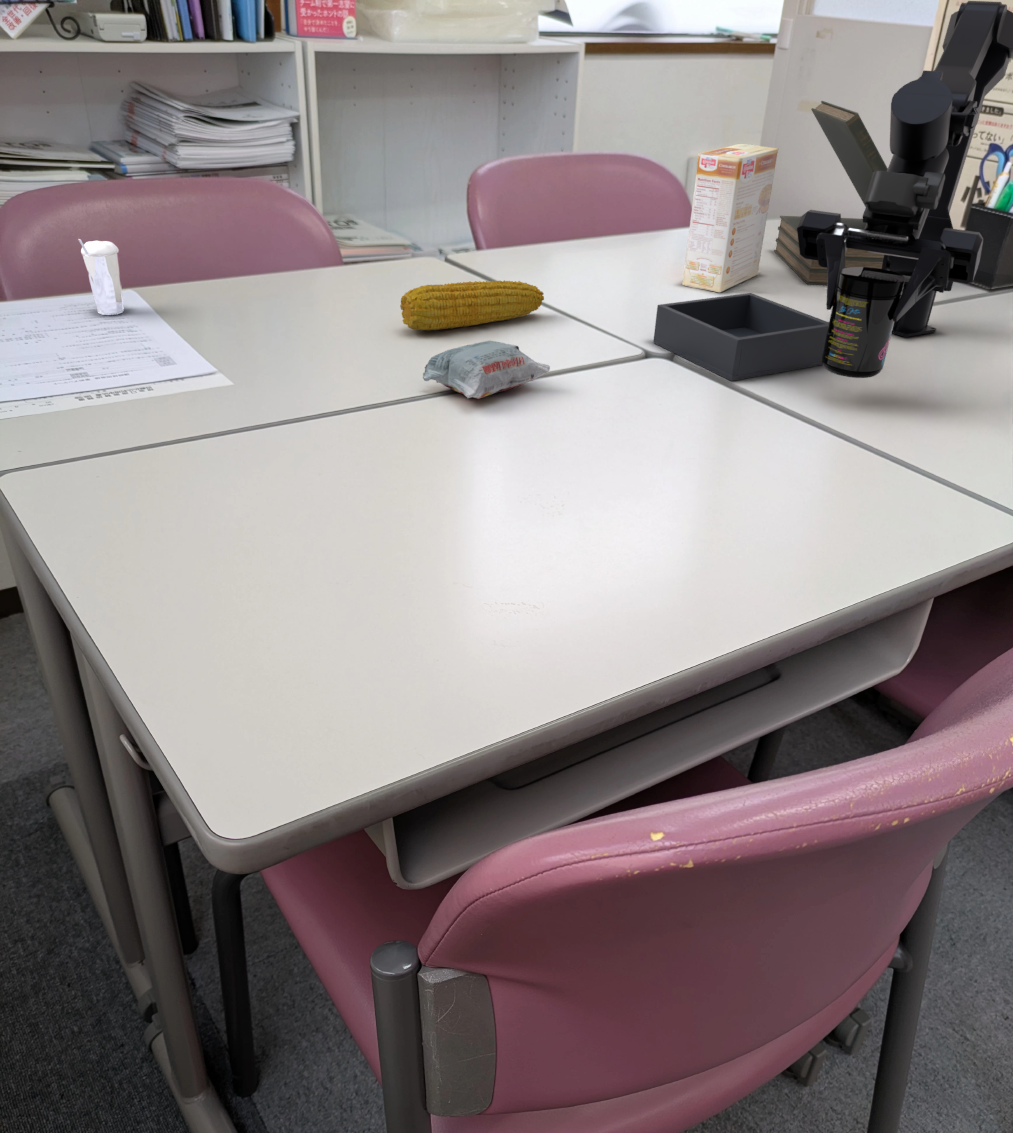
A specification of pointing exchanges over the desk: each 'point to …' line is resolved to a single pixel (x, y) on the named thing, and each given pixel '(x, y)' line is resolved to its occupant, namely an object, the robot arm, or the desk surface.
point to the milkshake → (104, 275)
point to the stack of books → (859, 165)
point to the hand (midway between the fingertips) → (860, 313)
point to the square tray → (741, 335)
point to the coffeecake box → (728, 215)
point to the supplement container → (861, 321)
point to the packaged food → (483, 368)
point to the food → (468, 304)
